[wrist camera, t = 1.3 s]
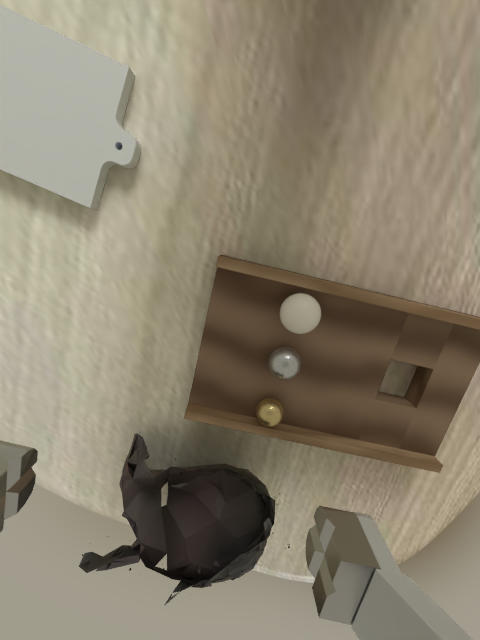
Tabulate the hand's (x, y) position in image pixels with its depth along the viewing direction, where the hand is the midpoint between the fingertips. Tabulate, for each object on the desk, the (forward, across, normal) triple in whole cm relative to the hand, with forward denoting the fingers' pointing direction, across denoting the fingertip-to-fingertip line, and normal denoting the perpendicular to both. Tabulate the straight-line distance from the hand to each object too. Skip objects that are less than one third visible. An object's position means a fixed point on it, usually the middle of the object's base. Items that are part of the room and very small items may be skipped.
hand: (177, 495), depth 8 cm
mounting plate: (+26, +21, -16) cm, 36 cm away
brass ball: (+22, -7, +8) cm, 24 cm away
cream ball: (+21, -7, -3) cm, 22 cm away
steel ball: (+21, -7, +2) cm, 23 cm away
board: (+26, -13, +2) cm, 29 cm away
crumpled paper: (+27, -2, +21) cm, 34 cm away
